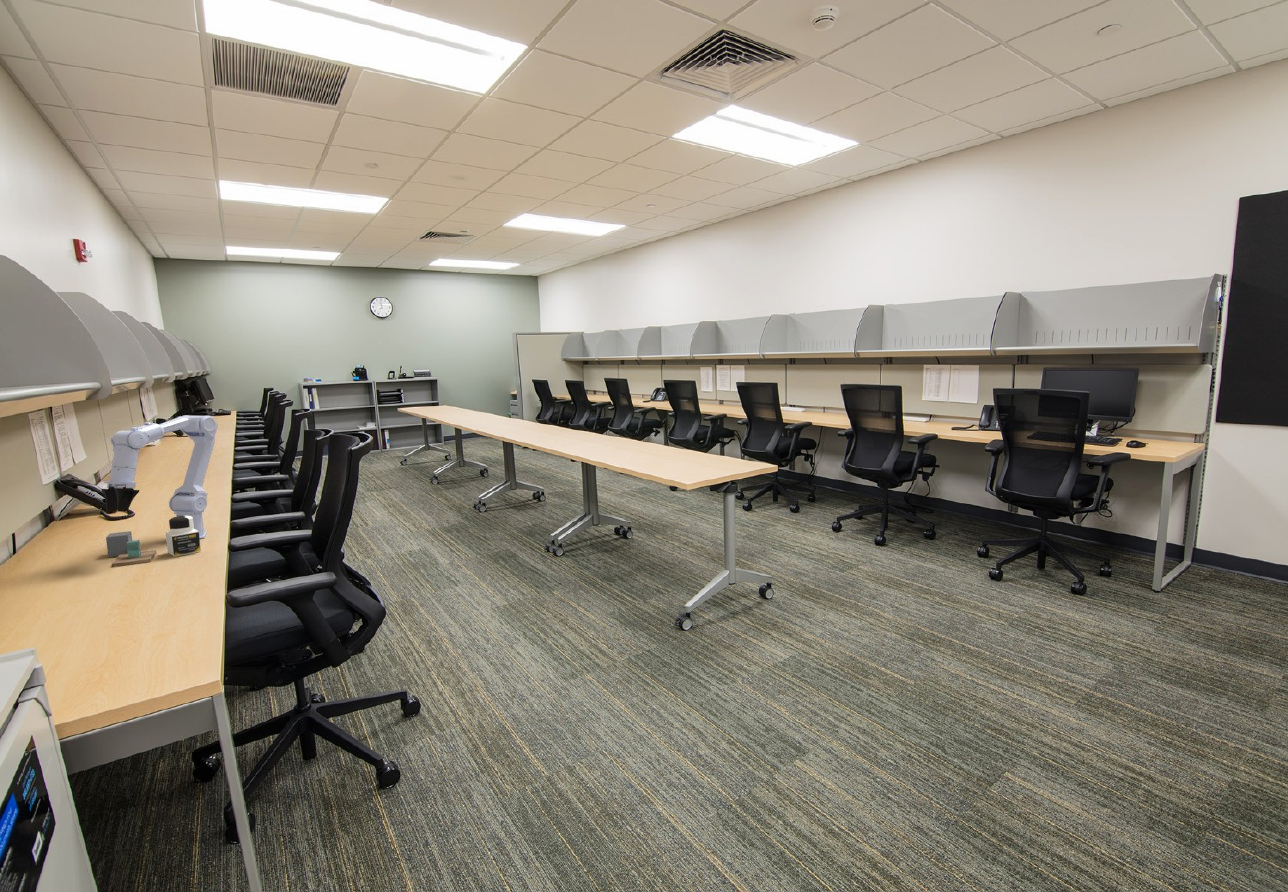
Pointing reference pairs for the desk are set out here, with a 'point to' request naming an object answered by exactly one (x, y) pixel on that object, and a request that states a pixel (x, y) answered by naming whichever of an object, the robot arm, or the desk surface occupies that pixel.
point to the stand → (134, 555)
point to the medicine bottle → (182, 536)
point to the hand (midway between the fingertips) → (116, 511)
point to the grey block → (118, 543)
